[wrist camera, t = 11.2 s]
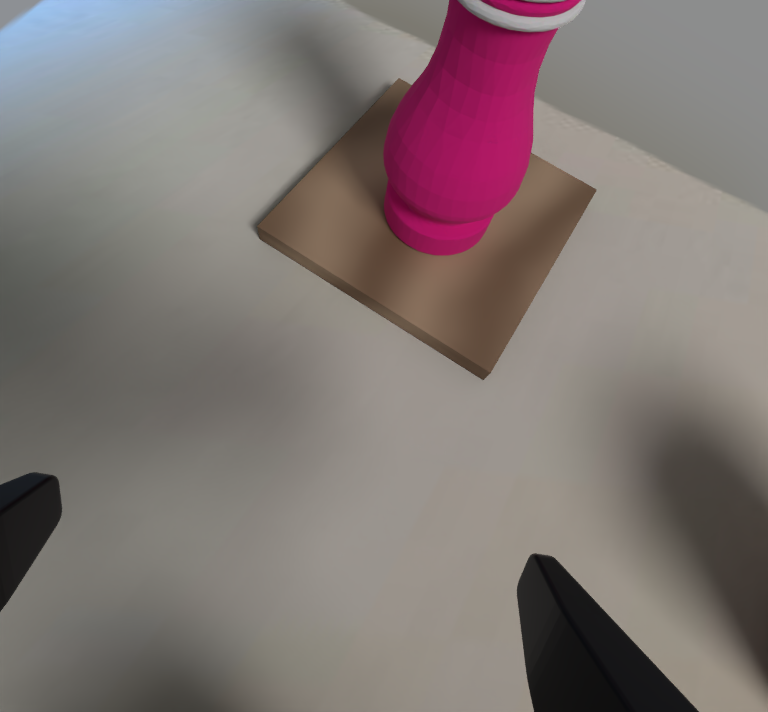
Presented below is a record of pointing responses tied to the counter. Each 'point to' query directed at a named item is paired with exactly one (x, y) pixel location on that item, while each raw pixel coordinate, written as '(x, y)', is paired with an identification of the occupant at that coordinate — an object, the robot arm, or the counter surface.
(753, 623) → the counter surface
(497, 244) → the walnut board
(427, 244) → the pepper mill
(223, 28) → the counter surface
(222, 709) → the counter surface
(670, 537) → the counter surface
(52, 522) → the robot arm
